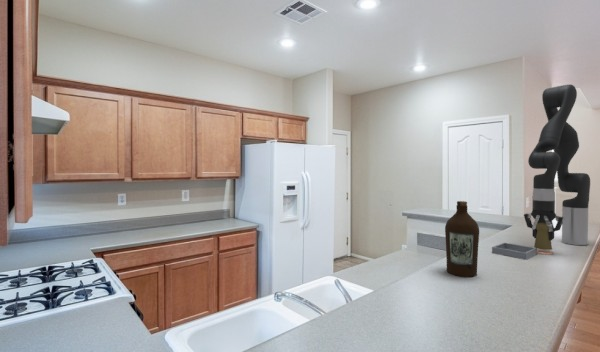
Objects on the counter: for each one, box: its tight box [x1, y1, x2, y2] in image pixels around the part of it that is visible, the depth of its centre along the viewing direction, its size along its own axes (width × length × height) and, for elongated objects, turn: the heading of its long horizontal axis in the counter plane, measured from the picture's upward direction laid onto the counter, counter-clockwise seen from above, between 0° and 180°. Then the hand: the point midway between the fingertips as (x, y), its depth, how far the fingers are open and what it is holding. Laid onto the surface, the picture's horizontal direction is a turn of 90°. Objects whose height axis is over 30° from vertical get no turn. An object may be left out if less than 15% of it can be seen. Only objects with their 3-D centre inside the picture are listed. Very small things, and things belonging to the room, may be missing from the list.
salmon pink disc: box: [537, 248, 554, 256], centre depth 133 cm, size 7×7×1 cm
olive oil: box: [444, 200, 480, 278], centre depth 109 cm, size 11×11×25 cm
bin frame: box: [491, 242, 538, 260], centre depth 132 cm, size 12×12×2 cm
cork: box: [533, 222, 553, 251], centre depth 133 cm, size 6×6×11 cm
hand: (543, 238), depth 133 cm, fingers closed on cork, 4 cm apart
